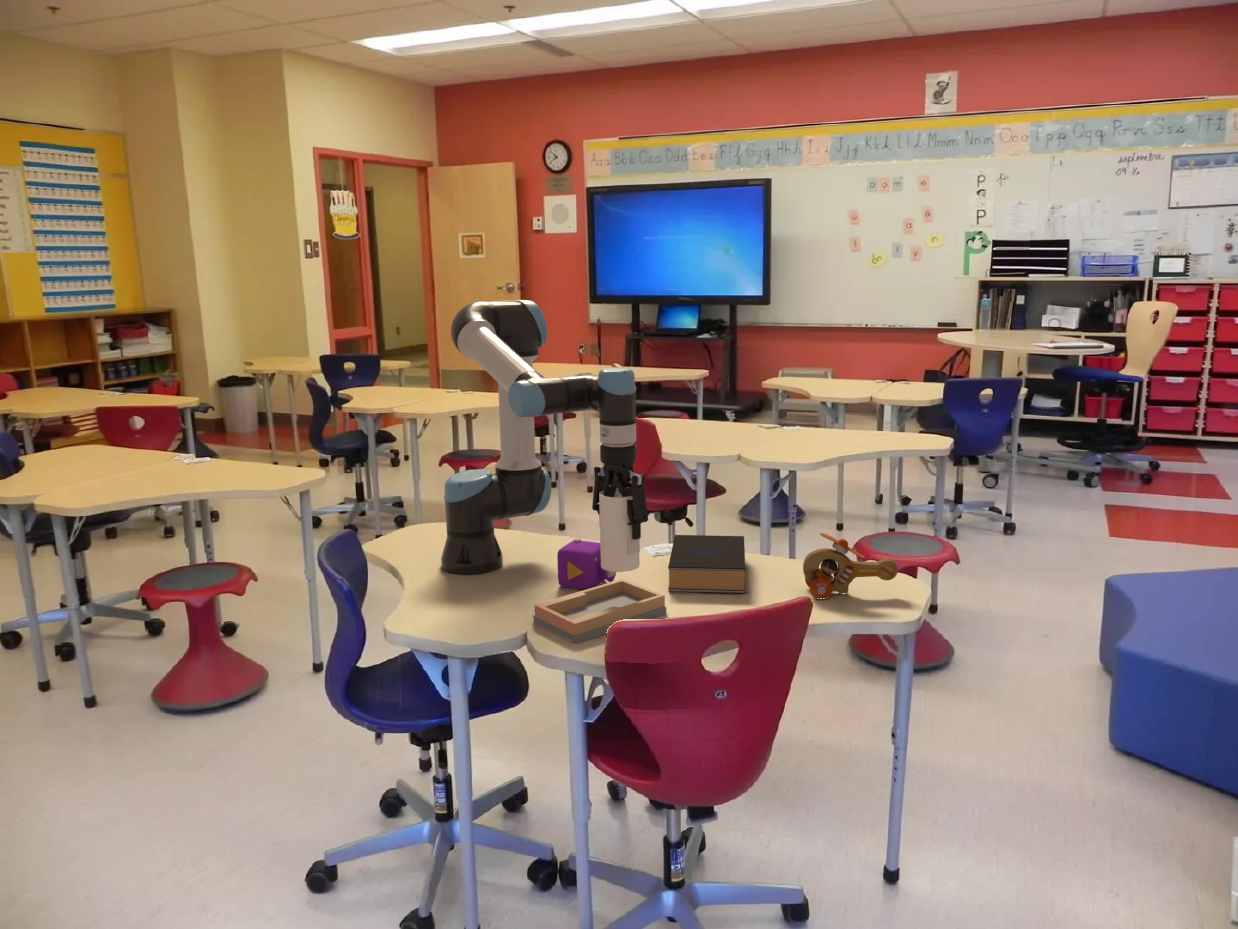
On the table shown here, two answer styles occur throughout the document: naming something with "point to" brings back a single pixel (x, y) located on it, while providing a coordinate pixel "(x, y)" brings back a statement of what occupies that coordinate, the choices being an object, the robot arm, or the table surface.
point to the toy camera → (581, 565)
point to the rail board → (598, 609)
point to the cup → (615, 534)
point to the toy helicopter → (841, 569)
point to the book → (707, 564)
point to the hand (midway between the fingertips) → (620, 548)
